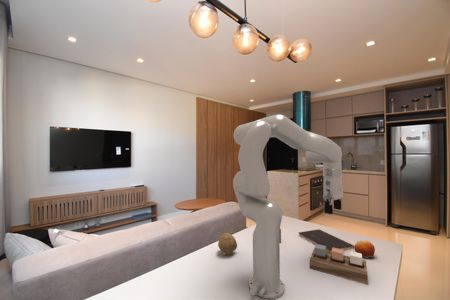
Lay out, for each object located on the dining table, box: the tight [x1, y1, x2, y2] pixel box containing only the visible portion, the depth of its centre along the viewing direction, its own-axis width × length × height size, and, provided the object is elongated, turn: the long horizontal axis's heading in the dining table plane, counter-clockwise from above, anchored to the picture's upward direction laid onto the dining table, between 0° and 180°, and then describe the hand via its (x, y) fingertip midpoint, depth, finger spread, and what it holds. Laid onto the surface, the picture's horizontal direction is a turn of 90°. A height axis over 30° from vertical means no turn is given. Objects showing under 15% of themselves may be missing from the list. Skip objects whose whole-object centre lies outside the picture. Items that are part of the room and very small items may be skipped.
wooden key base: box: [309, 248, 369, 285], centre depth 84 cm, size 12×20×4 cm, turn 57°
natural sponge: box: [217, 232, 238, 256], centre depth 97 cm, size 9×9×10 cm
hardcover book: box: [298, 229, 355, 252], centre depth 111 cm, size 16×23×2 cm
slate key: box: [314, 244, 326, 257], centre depth 88 cm, size 4×4×3 cm
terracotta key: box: [332, 247, 344, 261], centre depth 85 cm, size 4×4×3 cm
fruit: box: [353, 240, 376, 259], centre depth 95 cm, size 8×8×8 cm
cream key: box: [349, 251, 363, 266], centre depth 81 cm, size 4×4×3 cm
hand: (333, 211), depth 91 cm, fingers open, 9 cm apart
